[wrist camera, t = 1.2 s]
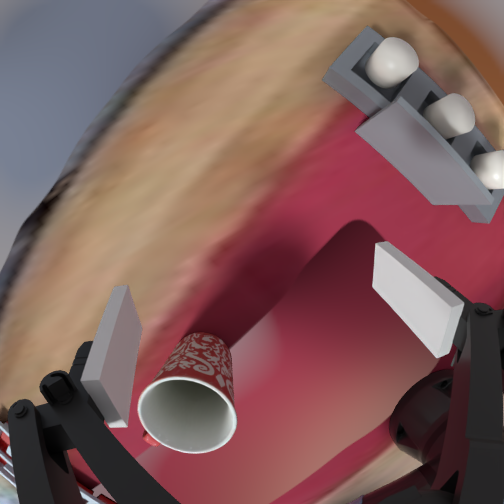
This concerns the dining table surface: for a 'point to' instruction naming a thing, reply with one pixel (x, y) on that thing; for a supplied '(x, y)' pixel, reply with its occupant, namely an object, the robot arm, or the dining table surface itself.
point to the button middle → (450, 116)
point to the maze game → (3, 465)
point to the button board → (411, 90)
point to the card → (423, 156)
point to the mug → (191, 397)
